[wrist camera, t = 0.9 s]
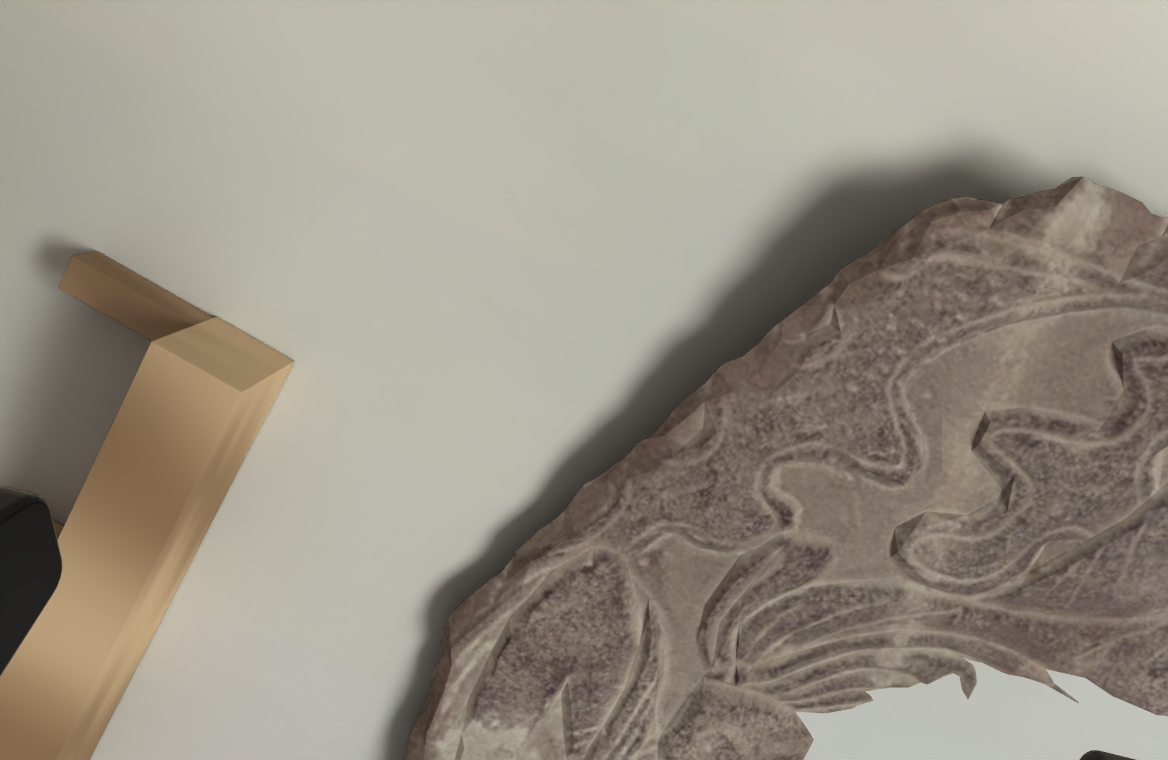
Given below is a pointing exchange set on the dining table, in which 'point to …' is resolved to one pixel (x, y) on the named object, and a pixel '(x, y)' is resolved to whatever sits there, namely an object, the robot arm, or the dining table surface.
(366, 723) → the dining table surface
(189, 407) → the rail
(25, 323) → the dining table surface
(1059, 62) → the dining table surface
